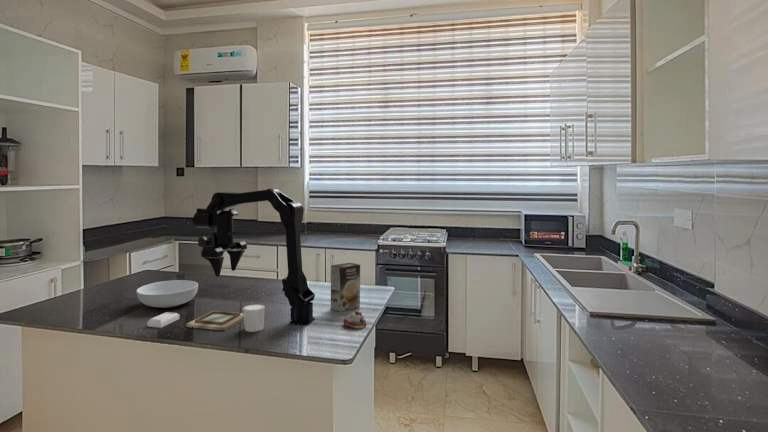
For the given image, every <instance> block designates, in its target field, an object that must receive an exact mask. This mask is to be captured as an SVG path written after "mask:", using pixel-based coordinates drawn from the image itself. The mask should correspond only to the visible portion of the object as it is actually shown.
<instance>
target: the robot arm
mask: <svg viewBox="0 0 768 432" xmlns="http://www.w3.org/2000/svg"><path fill="white" fill-rule="evenodd" d="M258 202H269V204H270V205H271V207H272V208H273V209H274V210H275V211H276V212H277V213H278V214H279V218H280V219H279V220H280V223H281V224H282V226H283V228H284V232H285V244H286V245H285V246H286V260H287V275H286V277H284V278H282V280H281V284H282V290H281V291H282V292H283V293H284V296H285V298H287V301H288V303H289V307H290V308H289V309H290V314H289V315H290V321H289V324H292V325H305V326H308V325H310V324H311V323H312V322H314V320H316V317H314V305H313V302H312V301H314V299H315V297H316V294H315V293H314V292H313V291H312V289H311V288H310V287H309V285H308V280H307V276H306V275H305V273H304V271H303V259H302V242H301V227H302V223H303V220H304V212H305V211H304V210H305V209H304V206H303V205H302V204H301V203H300V202H299V201H294V199H292V198H291V197H289V196H287V195H286V194H285V193H283V192H282V191H281V190H279V189H278V188H267V189H262V190H255V191H245V192H236V191H219V192H214V193H213V195H212V197H211V199H210V202H209V203H208V205H207V207H206V208H204V207H203V208H202V207H201V208H200V207H197V208H196V212H195V213H194V215H193V218H192V223H193V226H194V227H195V228H200V229H214V228H215V231H213V232H212V234H211V236H210V237H206V236H205V235H204V236H201V237H198V240H197V244H198V247H200V248H202V249H201V250H200V257H201V258H203V259H204V260H207V261H208V262H209V263H210V265H211V267H212V270H213V272H214V274H215V277H217V278H218V277H220V275H221V273H222V272H221V271H222V267H223V263H224V259H225V257H224V253H225V252H226V253H227V254H228V255H229V261H230V268H231V271H232V272H235V271H236V269H237V267H238V265H239V262H240V261H241V258H242V256H243V254H244V253H245V252H246V250H247V249H248V243H247V242H246V241H244V240H234V235H237V231H236V230H234V216H235V217H236V216H239V212H238V211H236V210H235V209H234V208H235V207H239V206H240V205H243V204H249V203H250V204H251V203H258ZM227 209H228V210H227Z"/></svg>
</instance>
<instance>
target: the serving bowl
mask: <svg viewBox="0 0 768 432" xmlns="http://www.w3.org/2000/svg"><path fill="white" fill-rule="evenodd" d="M198 290H199V282H198V281H197V282H196V281H194V280H188V279H186V280H185V279H183V280H182V279H176V280H173V279H172V280H163V281H156V282H152V283H149V284H144V285H142V286H140V287H138V288H137V289H136V291H135V293H136V296H137V299H138V300H139V301H140V302H141V303H142V304H143V305H145V306H147V307H150V308H151V307H152V308H161V309H166V308H167V309H169V308H174V307H178V306H180V305H183V304H186V303H188V302H190V301H191V300H192V299H194V298H195V296H196V295H197V293H198Z"/></svg>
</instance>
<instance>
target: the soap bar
mask: <svg viewBox="0 0 768 432" xmlns="http://www.w3.org/2000/svg"><path fill="white" fill-rule="evenodd" d="M178 320H180V314H179V313H177V312H171V311H166V312H164V313H161V314H159V315H156V316H154V317H152V318H150V319H149V320H148V321H147V322H146V323H147V328H148V327H151V328H163V327H166V326H168V325H169V324H172V323H174V322H175V321H178Z"/></svg>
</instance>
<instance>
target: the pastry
mask: <svg viewBox="0 0 768 432" xmlns="http://www.w3.org/2000/svg"><path fill="white" fill-rule="evenodd" d="M342 322H343V326H344V327H345V328H347V329H351V330H361V329H365V327H366V326H367V322H366V319H365V317H364V315H363V313H362V311H359V310H355V311H354V312H352V313H351V314H350V315H347V316H345V317H344V319H343V321H342Z"/></svg>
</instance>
